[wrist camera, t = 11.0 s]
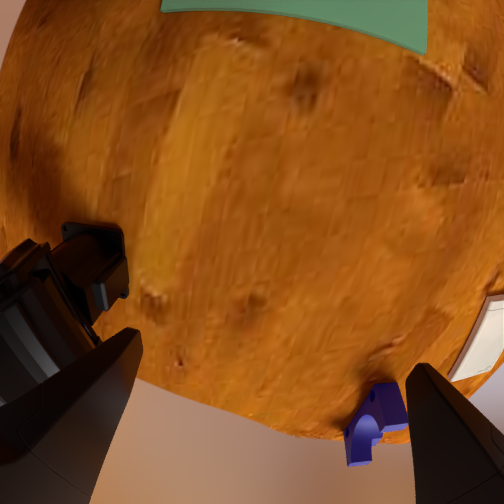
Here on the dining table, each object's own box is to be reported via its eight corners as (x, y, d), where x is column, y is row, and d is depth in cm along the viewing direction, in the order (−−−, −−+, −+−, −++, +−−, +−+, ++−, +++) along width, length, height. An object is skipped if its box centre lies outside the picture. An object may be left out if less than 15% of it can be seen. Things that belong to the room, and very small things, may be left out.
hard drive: (491, 370, 25) (531, 295, 20) (450, 382, 26) (492, 302, 20) (487, 362, 27) (524, 288, 21) (445, 373, 27) (484, 293, 22)
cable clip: (371, 429, 33) (377, 463, 27) (343, 431, 33) (347, 466, 27) (407, 380, 27) (420, 420, 22) (374, 382, 27) (385, 426, 22)
